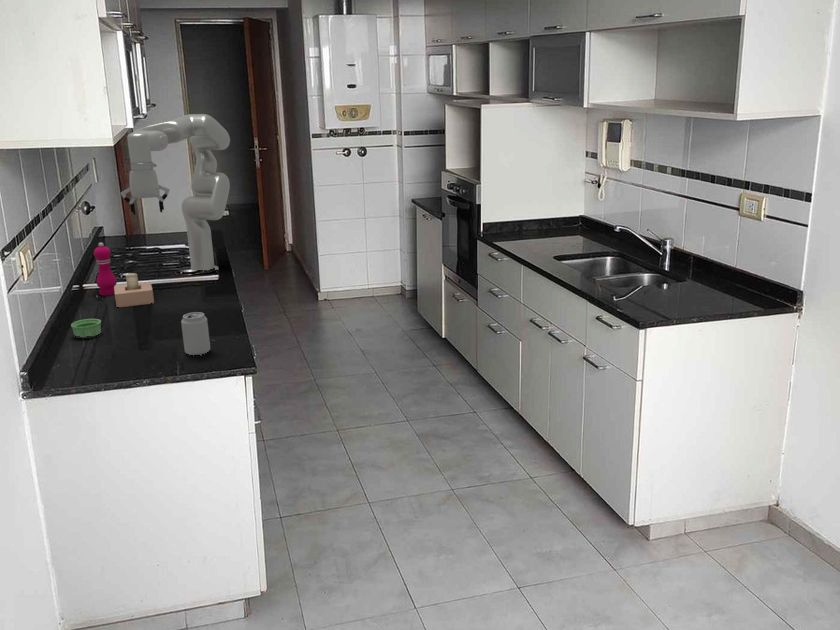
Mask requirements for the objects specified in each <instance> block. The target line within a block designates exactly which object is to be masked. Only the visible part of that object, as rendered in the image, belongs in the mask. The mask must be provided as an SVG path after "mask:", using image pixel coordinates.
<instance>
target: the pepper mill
mask: <svg viewBox="0 0 840 630" xmlns="http://www.w3.org/2000/svg"><path fill="white" fill-rule="evenodd" d="M111 254H112V252H111V250H110V247H108V246H105V245H104V243H103V242H98V246H97V247H96V248H95V249H94V251H93V256H94V258H95V259H96V264H97V265H98V273H97V277H96V286H97V287H98V288H99V290H98V292H99V295H100V296H104V297H107V296H112V295H115V291H114V286H117V283H118V282H117V278H116V276H115V275H114V273H113V271H112V269H111V265H110V263H111V258H110V257H111Z"/></svg>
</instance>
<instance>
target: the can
mask: <svg viewBox="0 0 840 630" xmlns="http://www.w3.org/2000/svg"><path fill="white" fill-rule="evenodd" d="M180 323H181V331H182V333H181V334H182V340H183V346H184V353H185V354H187V355H188V354H189V355H188V356H190V355H193V356H192V357H195V356H194V355H200V356H203V355H202V354H204V355H206V354H208V353H209V351H211V342H210V333H209V325H208V324H209V323H208V318H207V317H206V316H205V313H204V312H199V311H198V312H197V311H193V312H188V313H186V314H183V316H182V319H181V321H180ZM207 352H208V353H207ZM205 353H206V354H205Z"/></svg>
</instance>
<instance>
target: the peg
mask: <svg viewBox="0 0 840 630" xmlns="http://www.w3.org/2000/svg"><path fill="white" fill-rule="evenodd" d="M125 280H126V284H127V288H128V290H136V289H139V284H138V283H139V278H138V274H137V273H133V272H132V273H127V274H125Z"/></svg>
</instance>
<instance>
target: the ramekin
mask: <svg viewBox="0 0 840 630" xmlns="http://www.w3.org/2000/svg"><path fill="white" fill-rule="evenodd" d="M101 325H102V320H101V319H98V318H87V319H86V318H85V319H79V320H77V321H74V322H72V323H71V325H70V326H71V328H72V332H73V336H74V335H75V336H80V337H86V336H95V335H98V334H100V333H101V334H102V326H101ZM101 334H100V335H101ZM75 336H74V337H75Z"/></svg>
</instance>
